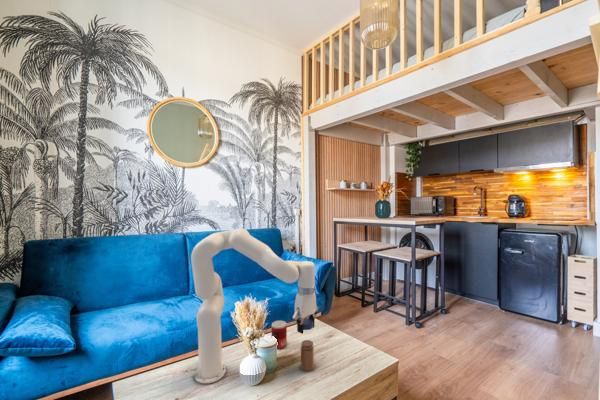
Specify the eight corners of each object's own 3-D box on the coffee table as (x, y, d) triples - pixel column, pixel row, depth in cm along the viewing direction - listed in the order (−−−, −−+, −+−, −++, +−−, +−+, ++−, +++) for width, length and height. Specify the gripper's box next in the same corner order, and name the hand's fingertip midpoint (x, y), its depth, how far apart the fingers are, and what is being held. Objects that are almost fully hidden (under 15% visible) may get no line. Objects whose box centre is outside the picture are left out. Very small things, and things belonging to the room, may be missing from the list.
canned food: (287, 341, 146) (287, 320, 146) (285, 349, 138) (285, 327, 138) (273, 340, 146) (273, 320, 146) (270, 349, 139) (270, 327, 138)
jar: (303, 372, 120) (303, 347, 120) (299, 364, 125) (298, 340, 125) (315, 369, 122) (315, 344, 122) (310, 362, 127) (310, 338, 127)
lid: (313, 330, 120) (313, 325, 120) (298, 329, 120) (298, 324, 120) (313, 323, 126) (313, 318, 126) (299, 322, 127) (299, 317, 127)
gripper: (312, 283, 132) (312, 320, 132) (286, 292, 119) (285, 333, 120) (325, 287, 127) (324, 325, 127) (298, 296, 114) (298, 339, 115)
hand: (305, 329), depth 123 cm, fingers closed on lid, 6 cm apart
